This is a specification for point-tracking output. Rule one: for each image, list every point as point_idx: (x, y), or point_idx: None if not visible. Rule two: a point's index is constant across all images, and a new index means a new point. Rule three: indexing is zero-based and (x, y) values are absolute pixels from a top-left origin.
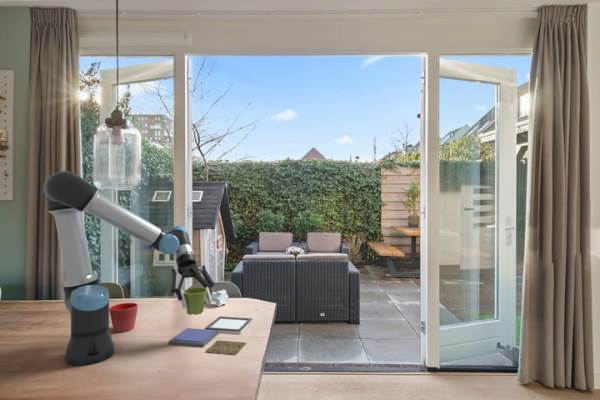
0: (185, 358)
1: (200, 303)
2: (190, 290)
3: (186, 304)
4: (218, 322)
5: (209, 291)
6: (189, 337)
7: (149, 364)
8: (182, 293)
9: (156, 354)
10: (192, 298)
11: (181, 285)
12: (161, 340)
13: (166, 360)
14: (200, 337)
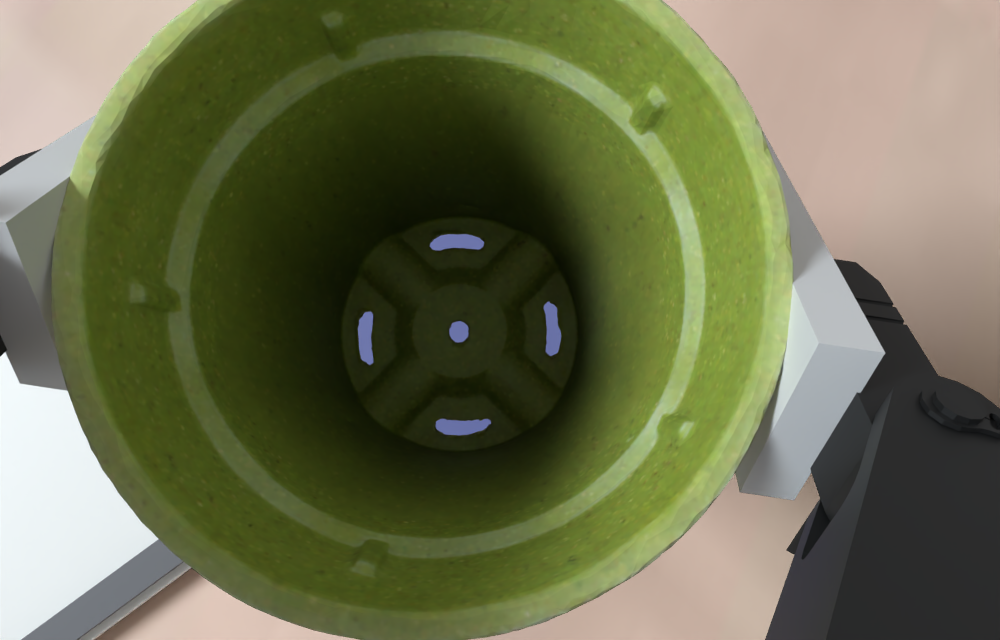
0: (732, 17)
1: (429, 128)
2: (414, 589)
3: (628, 318)
4: (72, 571)
5: (66, 137)
6: (553, 317)
7: (990, 98)
8: (819, 277)
9: (887, 243)
10: (606, 92)
11: (882, 510)
12: (743, 530)
13: (862, 80)
14: (473, 244)
